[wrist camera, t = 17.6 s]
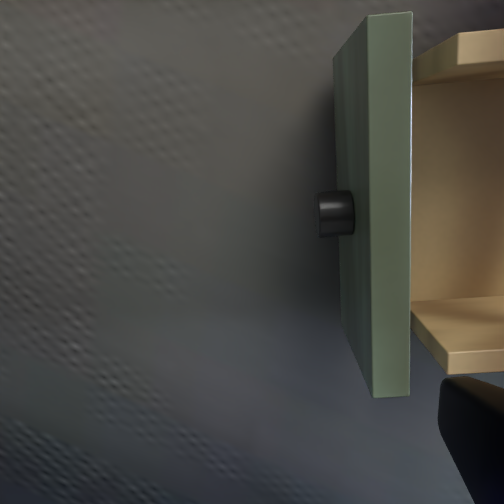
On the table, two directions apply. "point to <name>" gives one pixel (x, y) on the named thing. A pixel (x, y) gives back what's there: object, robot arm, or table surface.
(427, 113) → the drawer
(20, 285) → the table surface
